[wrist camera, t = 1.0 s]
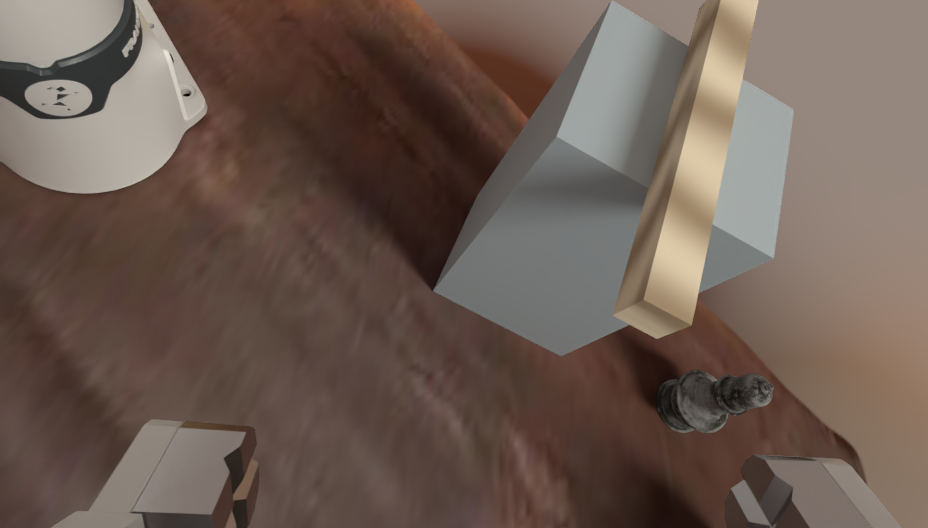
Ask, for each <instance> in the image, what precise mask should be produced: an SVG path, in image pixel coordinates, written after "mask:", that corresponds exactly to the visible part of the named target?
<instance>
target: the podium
mask: <svg viewBox="0 0 928 528" xmlns="http://www.w3.org/2000/svg"><path fill="white" fill-rule="evenodd" d="M688 47H689V46H687V45H685V44H684V43H682V42H680V41H679V40H677V39H675V38H674V37H672V36H670V35H669V34H667V33H665V32H664V31H662V30H661V29H659V28H657V27H656V26H654V25H652V24H650V23H649V22H647V21H645V20H644V19H642V18H641V17H639V16H637V15H636V14H634V13H632V12H631V11H629V10H627V9H626V8H624V7H622V6H621V5H619V4H617V3H616V2H614V1H611V2H610V3H609V5H608V6H607V8H606V9H605V11H604V12H603V14H602V15H601V17H600V18H599V19H598V21H597V22H596V24H595V25H594V27H593V28H592V30H591V31H590V33H589V34H588V35H587V37H586V38H585V40H584V41H583V43H582V44H581V46H580V47H579V48H578V50H577V51H576V53H575V54H574V56H573V57H572V59H571V60H570V62H569V63H568V64H567V66H566V67H565V69H564V70H563V72H562V73H561V75H560V76H559V78H558V79H557V80H556V82H555V83H554V85H553V86H552V88H551V89H550V91H549V92H548V94H547V95H546V96H545V98H544V99H543V101H542V102H541V104H540V105H539V107H538V108H537V109H536V111H535V112H534V114H533V115H532V117H531V118H530V120H529V121H528V122H527V124H526V125H525V127H524V128H523V130H522V131H521V133H520V134H519V135H518V137H517V138H516V140H515V141H514V143H513V144H512V146H511V147H510V149H509V150H508V151H507V153H506V154H505V156H504V157H503V159H502V160H501V162H500V163H499V165H498V166H497V167H496V169H495V170H494V172H493V173H492V175H491V176H490V178H489V179H488V180H487V182H486V183H485V185H484V186H483V188H482V189H481V191H480V192H479V194H478V195H477V197H476V199H475V202H474V204H473V206H472V208H471V210H470V212H469V214H468V217H467V219H466V221H465V223H464V225H463V227H462V229H461V232H460V234H459V236H458V238H457V240H456V242H455V245H454V247H453V249H452V251H451V253H450V255H449V257H448V260H447V262H446V264H445V266H444V268H443V270H442V272H441V275H440V277H439V279H438V281H437V283H436V285H435V288H434V290H433V292H435V293H437V294H439V295H441V296H443V297H445V298H447V299H449V300H451V301H453V302H455V303H457V304H459V305H461V306H463V307H465V308H467V309H469V310H471V311H473V312H475V313H477V314H479V315H481V316H483V317H485V318H487V319H488V320H490V321H492V322H494V323H496V324H498V325H500V326H502V327H504V328H506V329H508V330H510V331H512V332H514V333H516V334H518V335H520V336H522V337H524V338H526V339H528V340H530V341H532V342H534V343H536V344H538V345H540V346H542V347H544V348H545V349H547V350H549V351H551V352H553V353H555V354H557V355H559V356H562V355H565V354H567V353H569V352H571V351H573V350H575V349H578V348H580V347H582V346H584V345H586V344H589V343H591V342H593V341H595V340H597V339H599V338H602V337H604V336H606V335H608V334H610V333H612V332H615V331H617V330H619V329H621V328H623V327H626V326H628V325H630V324H628V323H626V322H624V321H622V320H620V319H618V318H616V317H614V316H613V312H614V308H615V305H616V301H617V298H618V294H619V291H620V287H621V284H622V280H623V277H624V273H625V269H626V266H627V262H628V259H629V255H630V252H631V248H632V245H633V241H634V238H635V234H636V231H637V227H638V224H639V220H640V216H641V213H642V209H643V206H644V202H645V199H646V195H647V192H648V188H649V185H650V181H651V178H652V174H653V171H654V167H655V163H656V160H657V156H658V153H659V149H660V146H661V142H662V139H663V135H664V132H665V128H666V125H667V121H668V118H669V114H670V110H671V107H672V103H673V100H674V96H675V93H676V89H677V86H678V82H679V79H680V75H681V72H682V68H683V65H684V61H685V57H686V54H687V50H688ZM793 113H794V110H793V109H792V108H790V107H788V106H787V105H785V104H783V103H782V102H780V101H778V100H777V99H775V98H773V97H772V96H770V95H768V94H767V93H765V92H763V91H762V90H760V89H758V88H757V87H755V86H754V85H752V84H750V83H749V82H747V81H745V80H744V79H742V83H741V88H740V93H739V97H738V102H737V107H736V112H735V117H734V122H733V127H732V132H731V136H730V141H729V146H728V151H727V156H726V161H725V166H724V170H723V175H722V180H721V185H720V190H719V195H718V200H717V205H716V209H715V214H714V219H713V224H712V229H711V234H710V239H709V243H708V248H707V253H706V258H705V263H704V268H703V273H702V278H701V282H700V287H699V292H702V291H704V290H706V289H708V288H711V287H713V286H715V285H717V284H719V283H721V282H724V281H726V280H728V279H730V278H732V277H734V276H737V275H739V274H741V273H743V272H745V271H747V270H750V269H752V268H754V267H756V266H758V265H761V264H762V263H765V262H767V261H769V260H772V259H773V258H774V252H775V245H776V237H777V231H778V223H779V216H780V209H781V201H782V193H783V187H784V179H785V172H786V165H787V157H788V150H789V143H790V135H791V128H792V120H793ZM699 292H698V293H699Z"/></svg>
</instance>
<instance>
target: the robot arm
mask: <svg viewBox="0 0 928 528" xmlns="http://www.w3.org/2000/svg"><path fill="white" fill-rule="evenodd" d="M184 94H190V96H188V97H185V96H183V95H184ZM206 112H207V104H206V101H205V99H204V97H203V95H202V93H201V91H200V90H199V88H198V86H197V85H196V83H195V81H194V79H193V78H192V76H191V74H190V73H189V71H188V69H187V67H186V66H185V64H184V62H183V60H182V59H181V57H180V55H179V54H178V52H177V50H176V48H175V47H174V45H173V43H172V41H171V40H170V38H169V36H168V35H167V33H166V31H165V29H164V28H163V26H162V24H161V22H160V21H159V19H158V17H157V16H156V14H155V12H154V10H153V9H152V7H151V5H150V3H149V2H148V0H0V161H1V162H2V163H4V164H5V165H6V166H8V167H9V168H10V169H12V170H13V171H14V172H15V173H17V174H18V175H20V176H21V177H23V178H25V179H27V180H29V181H31V182H33V183H35V184H38V185H40V186H43V187H46V188H49V189H53V190H57V191H63V192H70V193H100V192H107V191H112V190H117V189H120V188H124V187H127V186H130V185H132V184H135V183H137V182H139V181H141V180H143V179H145V178H147V177H148V176H150V175H151V174H153V173H154V172H156V171H157V170H158V169H159V168H161V167H162V166H163V165H164V164H165V163H166V162H167V161H168V159H169V158H170V157H171V156H172V154H173V153H174V151H175V150H176V148H177V146H178V144H179V142H180V140H181V138H182V136H183V134H184V133H185V132H186V130H187V129H189V128H190V127H191V126H193V125H194V124H195V123H197V122H198V121H199V120H200V119H201V118H202V117H203V116H204V115H205V114H206ZM256 444H257V443H256V435H255V429H254V428H253V427H249V426H237V425H225V424H213V423H201V422H188V421H186V422H181V421H169V420H156V419H152V420H150V421H149V422H148V423H146V424H145V425H144V426H143V427H142V428H141V430H140V431H139V433H138V434H137V436H136V437H135V439H134V440H133V442H132V443H131V445H130V447H129V448H128V450H127V451H126V453H125V454H124V456H123V457H122V459H121V461H120V462H119V464H118V465H117V467H116V468H115V470H114V471H113V473H112V474H111V476H110V478H109V479H108V481H107V482H106V484H105V485H104V487H103V488H102V490H101V491H100V493H99V495H98V496H97V498H96V499H95V501H94V502H93V504H92V505H91V507H90V508H89V510H88V511H76V512H74V513H73V514H71V515H70V516H68V517H66V518H65V519H63V520H62V521H60V522H59V523H57V524H56V525H54V526H53V527H51V528H248V527H249V524H250V521H251V518H252V515H253V512H254V508H255V503H256V498H257V493H258V485H259V467H258V464H257V463H256V462H255V461H254V460H253V459H252V455H253V453H254V450H255V447H256ZM740 471H741V474H742V476H743V478H744V480H743V481H742V482H740V483H739V484H737V485H736V486H734V487H733V488H731V490H730V492H729V494H728V496H727V499H726V501H725V522H726V526H727V528H901V526H900V525H899V524H898V523H897V522H896V520H895V519H894V518H893V517H892V515H891V514H890V513H889V512H888V511H887V509H886V508H885V507H884V506H883V505H882V503H881V502H880V501H879V500H878V498H877V497H876V496H875V495H874V494H873V492H872V491H871V490H870V489H869V487H868V486H867V485H866V484H865V483H864V481H863V480H862V479H861V478H860V477H859V475H858V474H857V473H856V472H855V470H854V469H853V468H852V467H851V466H850V465H849V464H847V463H846V462H844V461H843V460H841V459H830V458H806V457H791V456H769V455H752V456H751V457H749V458H748V459H746V460H745V462H744V464H743V466H742V468H741V470H740Z"/></svg>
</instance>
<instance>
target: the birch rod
mask: <svg viewBox="0 0 928 528" xmlns="http://www.w3.org/2000/svg"><path fill="white" fill-rule="evenodd" d="M757 5H758V0H706V2H705V3H704V4H703V5H702V6H701V7H700V8H699V12H698V15H697V19H696V22H695V26H694V29H693V33H692V36H691V40H690V43H689V47H688V50H687V54H686V57H685V61H684V65H683V68H682V72H681V75H680V79H679V82H678V86H677V89H676V93H675V96H674V100H673V103H672V107H671V110H670V114H669V118H668V121H667V125H666V128H665V132H664V135H663V139H662V142H661V146H660V149H659V153H658V156H657V160H656V163H655V167H654V171H653V174H652V178H651V181H650V185H649V188H648V192H647V195H646V199H645V202H644V206H643V209H642V213H641V216H640V220H639V224H638V227H637V231H636V234H635V238H634V241H633V245H632V248H631V252H630V255H629V259H628V262H627V266H626V269H625V273H624V277H623V280H622V284H621V287H620V291H619V294H618V298H617V301H616V305H615V308H614V312H613V316H614V317H616V318H618V319H620V320H622V321H624V322H626V323H628V324H630V325H632V326H633V327H635V328H637V329H639V330H641V331H643V332H645V333H647V334H649V335H651V336H653V337H654V338H656V339H658V338H660V337H663V336H665V335H668V334H671V333H673V332H676V331H678V330H681V329H683V328H686V327H689V326H691V325H692V321H693V316H694V312H695V307H696V302H697V297H698V292H699V287H700V282H701V278H702V273H703V268H704V263H705V258H706V253H707V248H708V243H709V239H710V234H711V229H712V224H713V219H714V214H715V209H716V205H717V200H718V195H719V190H720V185H721V180H722V175H723V170H724V166H725V161H726V156H727V151H728V146H729V141H730V136H731V132H732V127H733V122H734V117H735V112H736V107H737V102H738V97H739V93H740V88H741V83H742V78H743V73H744V68H745V63H746V59H747V54H748V49H749V44H750V39H751V34H752V29H753V24H754V19H755V15H756V10H757Z"/></svg>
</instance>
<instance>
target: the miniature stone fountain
mask: <svg viewBox="0 0 928 528" xmlns="http://www.w3.org/2000/svg"><path fill="white" fill-rule="evenodd" d="M773 388H774V386H773V385H771V384H770V383H769V382H768V381H767V380H766V379H765V378H764V377H762V376H761V375H759V374H747V375H743V376H739V377H734V376H731V375H724V376H722V377H720V378H719V379H718V380H717V379H715V378H714V377H713V376H712V375H710V374H708V373H706V372H704V371H700V370H693V371H689V372H687V373H685V374H684V375H683V376H682V377H681V378H680V380H677V379H673V380H668V381H666V382H664V383H663V384H662V385H661V386H660V388H659V390H658V392H657V397H656V404H657V409H658V413H659V415H660V417H661V419H662V420H663V422H664V423H665V424H666V425H667V426H668V427H669V428H671V429H672V430H674V431H676V432H680V433H687V432H691V431H692V430H694V429H695V430H698V431H700V432H704V433H712V432H716V431H718V430H719V429H721V428H722V427H723V425H724V424H725V423H726V420H727V418H728V414H730V415H735V416H737V415H741V414H743V413H744V412H745V411H746V410H747V409H751V408H757V407H763V406H765V405H767V404H768V403H769V402H770V401H771V398H772V394H773V392H772V391H773Z"/></svg>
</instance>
